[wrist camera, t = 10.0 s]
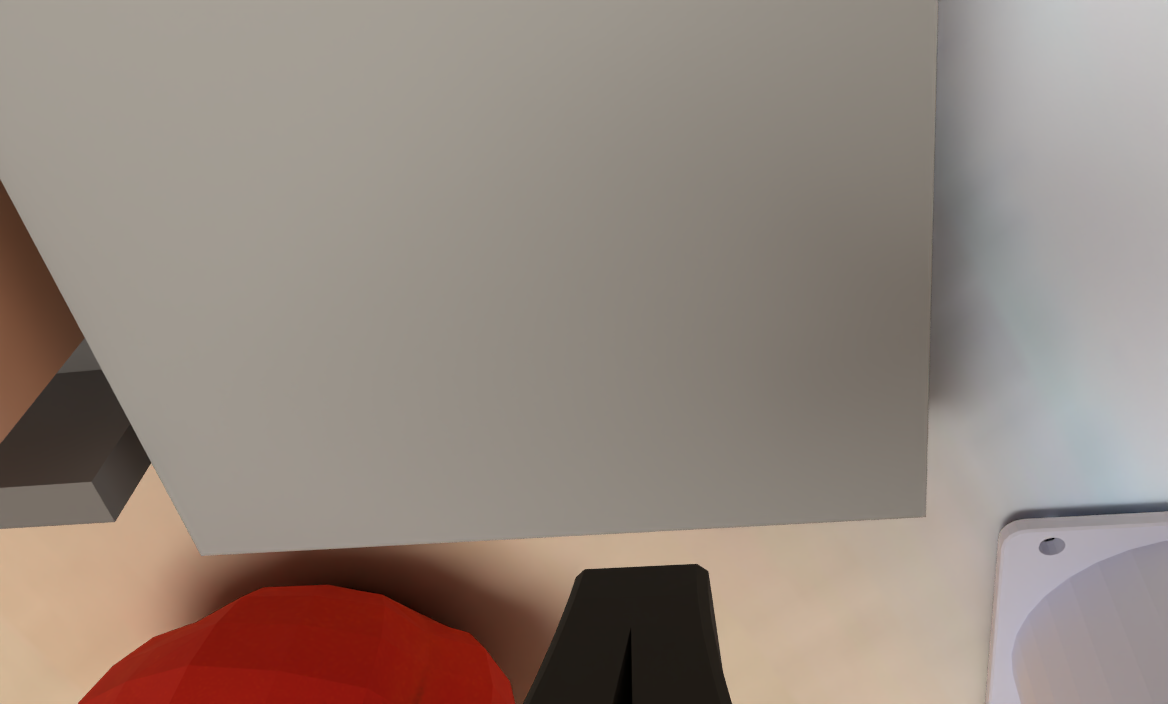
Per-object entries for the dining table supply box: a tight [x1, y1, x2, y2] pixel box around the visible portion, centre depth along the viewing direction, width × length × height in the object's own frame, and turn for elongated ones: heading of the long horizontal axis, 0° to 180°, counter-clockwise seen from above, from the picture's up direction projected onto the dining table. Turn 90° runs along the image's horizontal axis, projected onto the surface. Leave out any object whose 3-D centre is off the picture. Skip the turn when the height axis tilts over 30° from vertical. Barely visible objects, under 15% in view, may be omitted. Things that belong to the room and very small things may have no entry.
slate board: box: [0, 0, 938, 556], centre depth 17 cm, size 14×14×3 cm
